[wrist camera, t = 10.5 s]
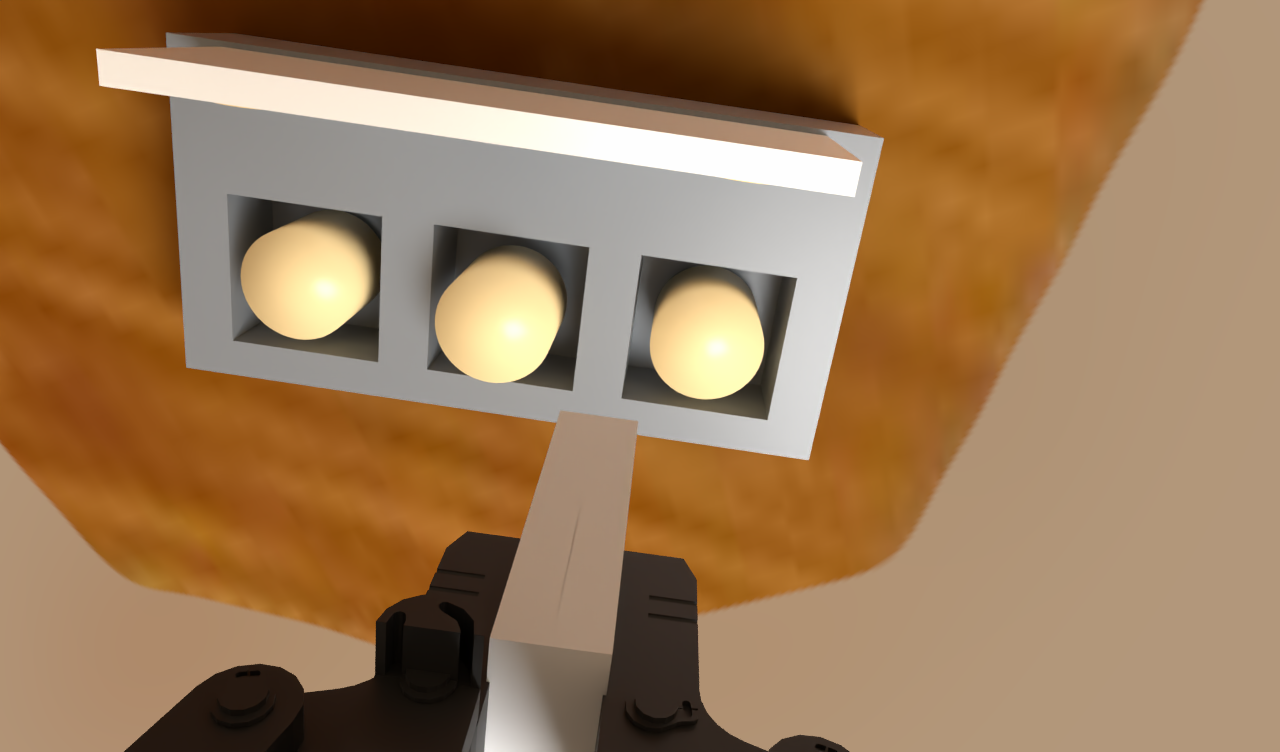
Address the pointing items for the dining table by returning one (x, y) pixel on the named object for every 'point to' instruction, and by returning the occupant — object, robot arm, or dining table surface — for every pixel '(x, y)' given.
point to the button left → (312, 273)
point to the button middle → (501, 314)
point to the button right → (706, 333)
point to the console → (508, 224)
